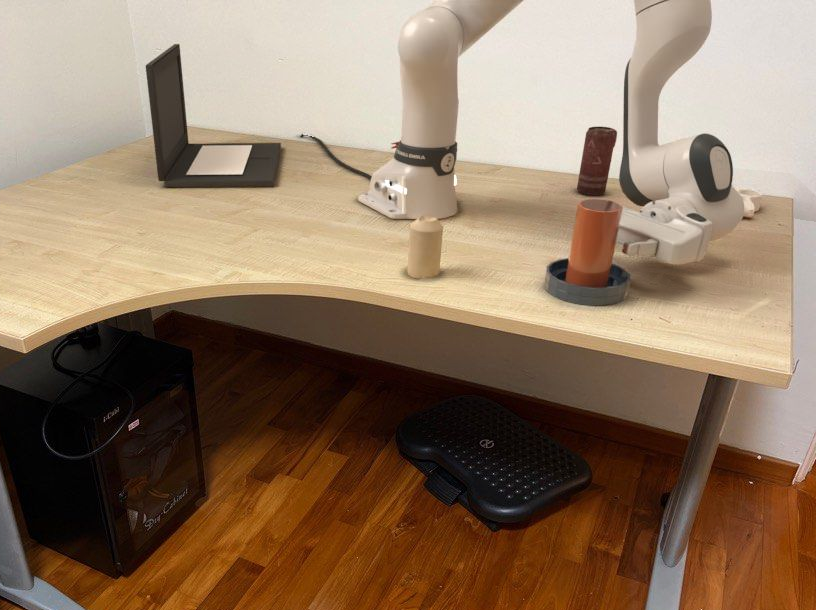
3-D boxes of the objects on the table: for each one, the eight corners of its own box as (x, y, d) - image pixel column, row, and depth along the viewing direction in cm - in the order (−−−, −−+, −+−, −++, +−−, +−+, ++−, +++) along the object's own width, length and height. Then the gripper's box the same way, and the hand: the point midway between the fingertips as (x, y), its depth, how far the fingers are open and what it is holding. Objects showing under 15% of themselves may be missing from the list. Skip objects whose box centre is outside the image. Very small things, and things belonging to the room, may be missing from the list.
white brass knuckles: (673, 215, 157) (663, 195, 169) (769, 222, 153) (751, 200, 165) (677, 199, 155) (666, 180, 168) (774, 205, 152) (756, 185, 164)
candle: (404, 268, 134) (407, 213, 129) (435, 267, 134) (439, 211, 129) (410, 280, 129) (414, 223, 124) (442, 279, 130) (447, 222, 125)
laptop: (273, 187, 178) (268, 63, 164) (158, 187, 178) (144, 65, 165) (281, 148, 210) (277, 42, 196) (183, 149, 210) (173, 43, 197)
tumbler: (555, 287, 125) (569, 204, 118) (579, 277, 128) (594, 196, 121) (590, 300, 120) (606, 214, 113) (614, 290, 124) (631, 205, 117)
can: (607, 197, 169) (620, 132, 161) (577, 195, 170) (588, 131, 163) (604, 189, 174) (616, 126, 167) (575, 188, 175) (585, 125, 168)
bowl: (527, 289, 126) (530, 270, 124) (574, 270, 132) (578, 252, 131) (595, 315, 117) (598, 295, 115) (642, 294, 124) (646, 274, 122)
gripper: (619, 191, 133) (559, 203, 128) (721, 225, 117) (658, 240, 112) (612, 226, 136) (553, 239, 131) (711, 263, 121) (649, 280, 115)
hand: (603, 240), depth 121 cm, fingers open, 8 cm apart
